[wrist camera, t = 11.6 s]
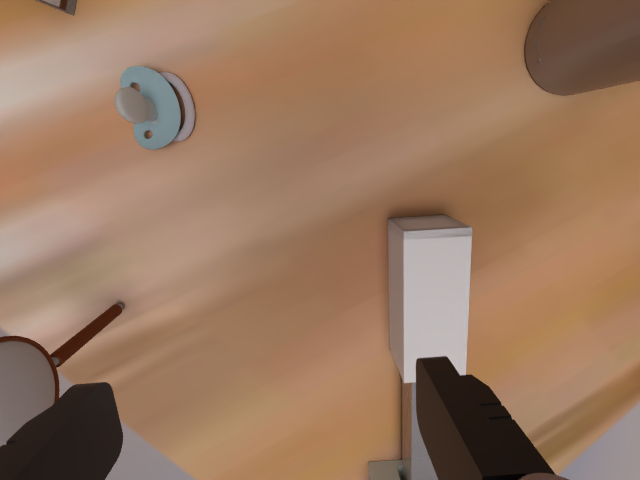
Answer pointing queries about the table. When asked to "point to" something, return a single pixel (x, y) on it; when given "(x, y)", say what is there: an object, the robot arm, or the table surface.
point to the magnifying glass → (36, 374)
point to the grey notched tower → (62, 5)
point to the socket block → (385, 470)
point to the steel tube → (413, 440)
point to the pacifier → (154, 106)
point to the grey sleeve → (428, 290)
